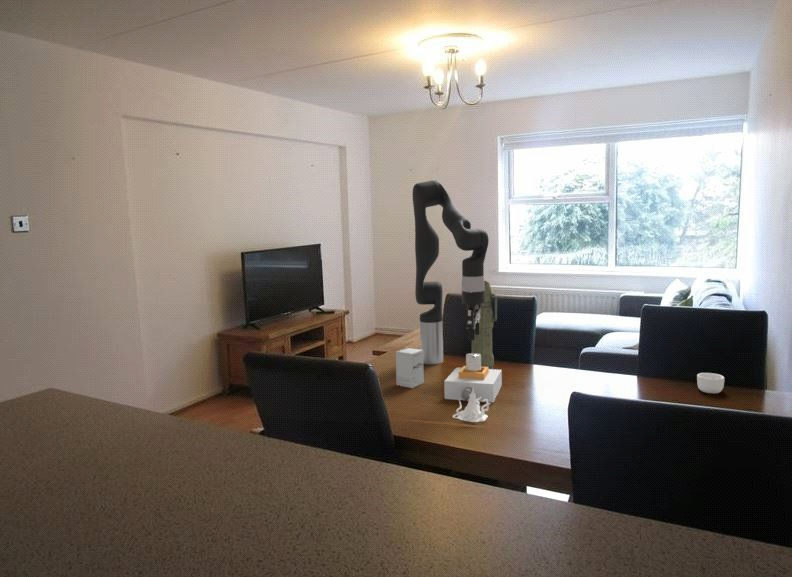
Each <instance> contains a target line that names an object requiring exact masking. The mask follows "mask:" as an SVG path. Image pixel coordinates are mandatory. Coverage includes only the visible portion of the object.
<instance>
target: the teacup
mask: <svg viewBox="0 0 792 577" xmlns="http://www.w3.org/2000/svg"><path fill="white" fill-rule="evenodd" d="M696 381H697V383H696V384H697V387H698V389H699V391H701V392H702V393H705V394H706V393H707V394H719V393H721V392H722V391H723V389H724V386H725V376H723V375H721V374H718V373H712V372H700V373H698V374H696Z"/></svg>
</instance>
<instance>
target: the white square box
mask: <svg viewBox="0 0 792 577" xmlns="http://www.w3.org/2000/svg"><path fill="white" fill-rule="evenodd" d="M502 371H503V370H502V369H496V368H495V369H494V368H493V369H489V367H481V372H466V365H462V367H461V366H460V367H459V366H458V367H455V369H453V370H452V372H451V373H450V374H449V375H448V376H447V378H445V380H444V383H443V384H444V385H443V386H444V400H455V401H459V400H460V401H467V402H469V398H470V396H469V394H470V395H471V393H472V389H473V387H474V393H475V395H476V399H478V398H480V397H481V398H480V399H479V400H478V401H479V402H480V403H481V402H483V403H487V401H483V400H484V399H488V403H494V402H495V401H496V399H497V397H496V396H498V394H499V392H500V390H501V388H502V386H503V383H502V382H503V380H502V379H503V376H502V373H503V372H502ZM495 398H496V399H495Z"/></svg>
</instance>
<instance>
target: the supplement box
mask: <svg viewBox="0 0 792 577" xmlns="http://www.w3.org/2000/svg"><path fill="white" fill-rule="evenodd" d="M424 372H425V371H424V363H423V350H421V349H420V348H418V349H417V348H409V347H407V348H403V349H400V350H397V351H395V377H396V378H395V379H396V382H395V383H396V386H399V385H400V387H404V388H409V389H410V388H411V389H414V388H416V387H417V386H420V385H422V384H424V382H425V381H424V380H425V379H424V378H425V377H424V374H425V373H424Z"/></svg>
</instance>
